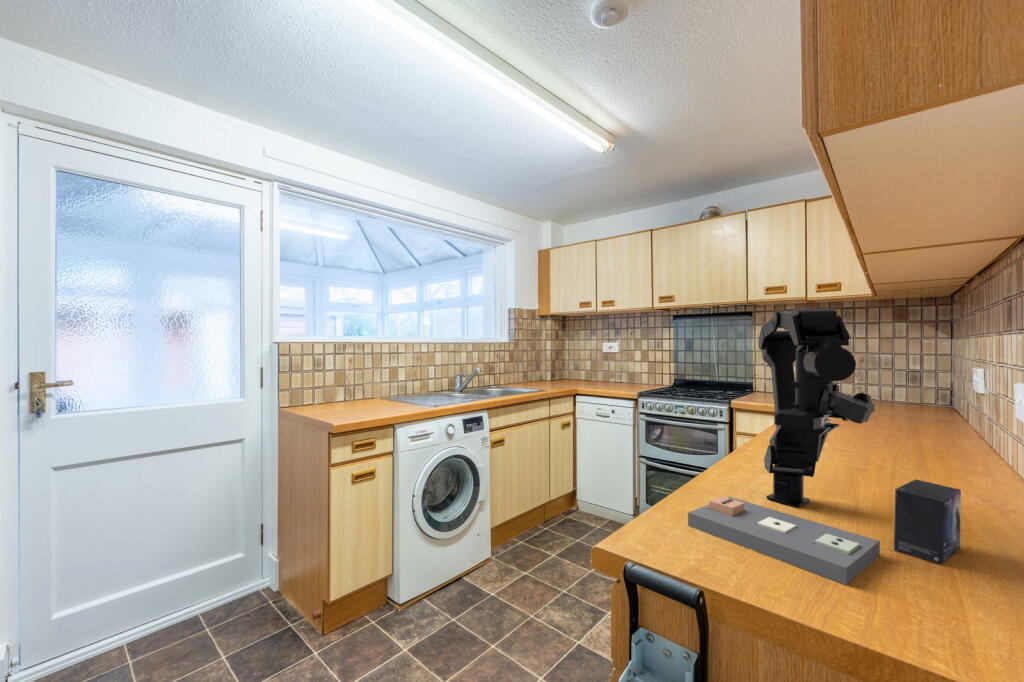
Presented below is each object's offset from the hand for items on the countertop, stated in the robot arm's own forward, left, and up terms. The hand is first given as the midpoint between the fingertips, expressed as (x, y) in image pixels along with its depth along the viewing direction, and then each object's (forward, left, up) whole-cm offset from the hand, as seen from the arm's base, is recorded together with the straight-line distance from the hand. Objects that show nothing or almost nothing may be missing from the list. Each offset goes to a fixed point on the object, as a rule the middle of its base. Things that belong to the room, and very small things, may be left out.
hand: (813, 461), depth 81 cm
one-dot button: (+9, -3, -13) cm, 16 cm away
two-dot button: (+9, +7, -13) cm, 17 cm away
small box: (-8, +14, -13) cm, 21 cm away
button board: (+9, -3, -13) cm, 16 cm away
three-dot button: (+9, -12, -11) cm, 19 cm away
